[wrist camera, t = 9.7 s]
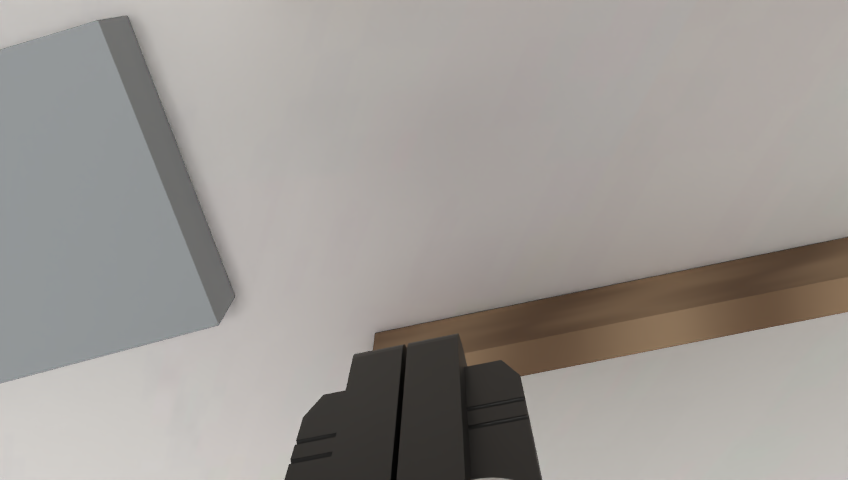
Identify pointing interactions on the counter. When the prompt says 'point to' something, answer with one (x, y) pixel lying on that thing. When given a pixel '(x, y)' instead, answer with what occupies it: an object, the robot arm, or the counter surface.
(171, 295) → the cover plate
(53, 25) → the counter surface
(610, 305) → the wooden frame
